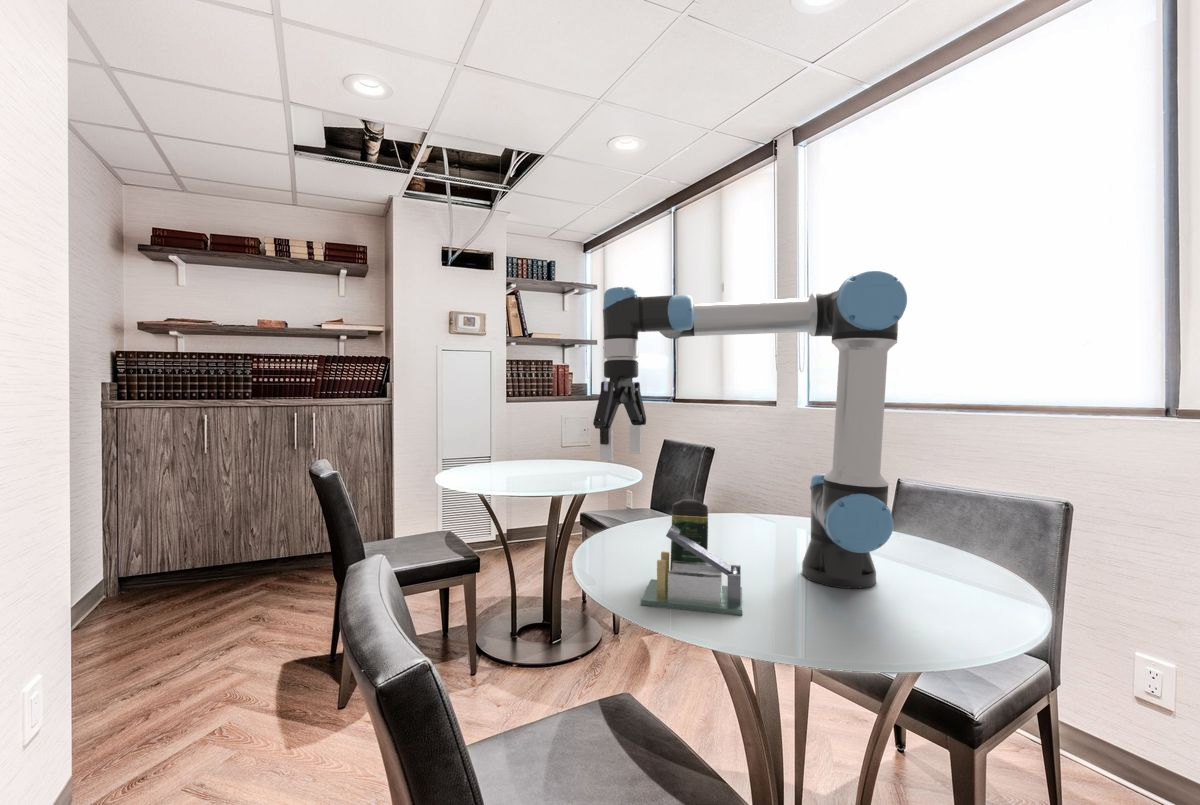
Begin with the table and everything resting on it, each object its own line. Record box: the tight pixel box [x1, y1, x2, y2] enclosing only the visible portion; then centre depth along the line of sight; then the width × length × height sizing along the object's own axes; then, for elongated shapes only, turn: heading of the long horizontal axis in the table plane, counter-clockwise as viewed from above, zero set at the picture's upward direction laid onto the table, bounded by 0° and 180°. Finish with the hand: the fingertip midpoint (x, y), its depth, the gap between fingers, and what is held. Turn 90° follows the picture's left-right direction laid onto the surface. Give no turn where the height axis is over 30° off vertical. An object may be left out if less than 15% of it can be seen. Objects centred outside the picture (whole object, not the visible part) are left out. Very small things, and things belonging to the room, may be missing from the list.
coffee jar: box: [669, 498, 709, 571], centre depth 117 cm, size 10×8×19 cm
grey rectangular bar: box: [665, 524, 732, 577], centre depth 106 cm, size 14×4×2 cm, turn 76°
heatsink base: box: [640, 551, 743, 616], centre depth 107 cm, size 19×12×8 cm, turn 75°
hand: (621, 456), depth 117 cm, fingers open, 13 cm apart
